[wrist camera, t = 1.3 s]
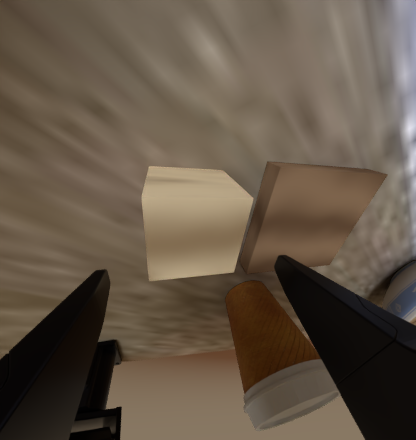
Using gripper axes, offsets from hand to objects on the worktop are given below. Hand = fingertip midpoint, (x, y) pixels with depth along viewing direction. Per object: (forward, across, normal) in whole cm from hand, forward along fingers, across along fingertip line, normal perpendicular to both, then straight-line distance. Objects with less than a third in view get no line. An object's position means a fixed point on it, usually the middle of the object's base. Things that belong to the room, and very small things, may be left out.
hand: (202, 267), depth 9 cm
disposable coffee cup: (+8, -10, +15) cm, 19 cm away
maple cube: (+8, 0, 0) cm, 8 cm away
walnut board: (+8, -13, +2) cm, 15 cm away
